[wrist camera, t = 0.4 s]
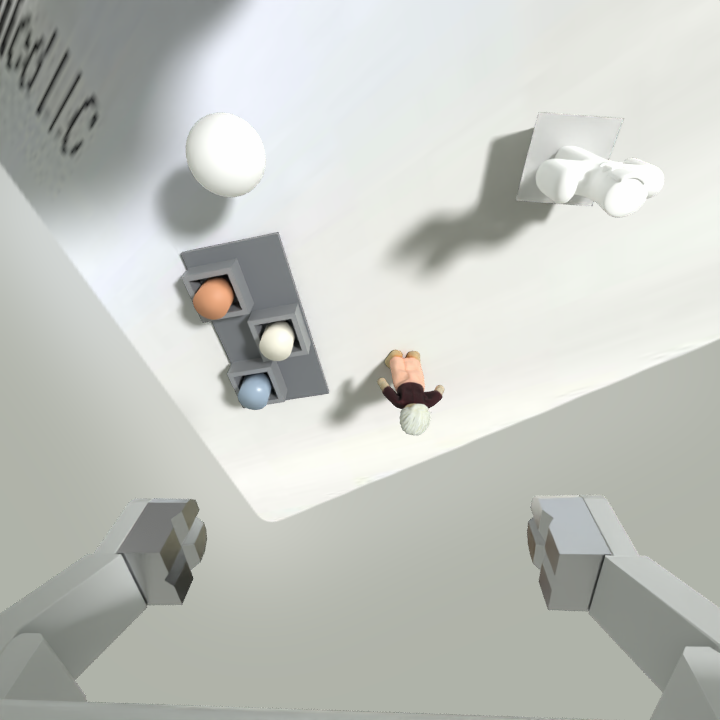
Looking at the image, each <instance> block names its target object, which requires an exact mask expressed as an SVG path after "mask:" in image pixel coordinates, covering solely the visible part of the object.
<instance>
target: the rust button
mask: <svg viewBox="0 0 720 720" xmlns="http://www.w3.org/2000/svg"><path fill="white" fill-rule="evenodd" d="M234 298H235V291H234V288H233V286H232V285H231V284H230V283H229V282H228V281H227V280H225V279H223V278H220V277H211V278H208V279H207V280H206V281H205V282H204V283H203V284H202V286H201V287H200V289H199V290H198V291H197V293H196V294H195V296H194V298H193V304H194V307H195V309H196V311H197V312H198V313H199V314H200V315H201V316H203V317H205V318H207V319H211V320H217V319H220V318H222V317H224V316H225V315H226V313H227V311H228V310H229V308H230V306H231V304H232V302H233V300H234Z"/></svg>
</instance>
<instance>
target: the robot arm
mask: <svg viewBox="0 0 720 720" xmlns="http://www.w3.org/2000/svg"><path fill="white" fill-rule="evenodd" d="M530 508H531V511H532V514H533V518H532V519H530V520H529V521H528V529H527V538H528V546H529V551H530V556H531V559H532V562H533V564H534V565H535V566H536V567H537V568H539V569H540V570H541V571H540V577H539V584H540V587H541V590H542V593H543V596H544V599H545V602H546V605H547V608H548V610H565V611H567V610H568V611H589V615H590V616H591V617H592V618H593V619H594V620H595V621H596V622H597V623H598V624H599V625H600V626H601V627H602V628H603V629H604V630H605V632H606V633H608V635H609V636H610V637H611V638H612V639H613V640H614V641H615V642H616V643H617V644H618V645H619V646H620V648H621V649H622V650H623V651H624V652H625V653H626V654H627V655H628V656H629V657H630V658H631V659H632V660H633V661H634V662H635V664H637V666H638V667H639V668H640V669H641V670H642V671H643V672H644V673H645V674H646V675H647V676H648V677H649V678H650V679H651V681H652V682H653V683H654V684H655V685H656V686H657V687H658V688H659V689H660V690H661V691H662V692H663V694H662V696H661V698H660V700H659V702H658V704H657V706H656V709H655V710H654V712H653V714H652V717H651V719H650V720H720V608H719V607H718V606H716V605H715V604H714V603H712V602H711V601H709V600H708V599H706V598H705V597H704V596H702V595H701V594H700V593H698V592H697V591H695V590H694V589H693V588H691V587H690V586H689V585H687V584H686V583H684V582H683V581H681V580H680V579H679V578H677V577H676V576H674V575H673V574H671V573H670V572H669V571H668V570H666V569H665V568H663V567H662V566H660V565H659V564H658V563H656V562H655V561H654V560H652V559H651V558H649V557H648V556H640V555H639V554H638V552H637V550H636V548H635V547H634V545H633V543H632V542H631V540H630V538H629V537H628V535H627V533H626V531H625V530H624V528H623V526H622V524H621V523H620V521H619V519H618V517H617V516H616V514H615V512H614V510H613V509H612V507H611V505H610V504H609V502H608V500H607V499H606V497H604V496H603V495H579V496H578V495H550V496H534V497H533V498H532V501H531V507H530ZM198 512H199V507H198V505H197V502H196V500H193V499H160V498H159V499H158V498H156V499H155V498H154V499H139V498H137V499H136V498H135V499H133V500H132V501H130V502H129V503H128V504H127V506H126V507H125V509H124V510H123V511H122V513H121V514H120V516H119V517H118V519H117V520H116V522H115V523H114V524H113V526H112V528H111V529H110V530H109V532H108V533H107V535H106V536H105V538H104V539H103V541H102V542H101V543H100V545H99V546H98V548H97V549H96V551H95V552H94V554H87V555H85V556H84V557H83V558H81V559H79V560H78V561H76V562H75V563H73V564H72V565H70V566H69V567H68V568H66V569H65V570H63V571H62V572H60V573H59V574H57V575H56V576H55V577H53V578H51V579H50V580H48V581H47V582H46V583H44V584H43V585H41V586H40V587H38V588H37V589H35V590H34V591H32V592H31V593H29V594H28V595H26V596H25V597H24V598H22V599H21V600H19V601H18V602H16V603H15V604H13V605H12V606H10V607H9V608H7V609H6V610H4V611H3V612H2V613H0V720H599V719H569V718H541V717H511V716H484V715H483V716H482V715H455V714H454V715H453V714H426V713H425V714H424V713H399V712H396V713H395V712H370V711H341V710H312V709H311V710H310V709H282V708H281V709H280V708H253V707H223V706H221V707H220V706H194V705H165V704H135V703H106V702H87V700H86V695H85V694H84V692H83V691H82V690H81V688H80V687H79V686H78V684H77V683H76V681H75V679H77V678H78V676H80V674H82V672H84V670H85V669H86V668H87V667H88V666H89V665H90V664H91V663H92V662H93V661H94V660H95V659H96V658H97V657H98V656H99V655H100V654H101V653H102V652H103V651H104V650H105V649H106V648H107V647H108V646H109V645H110V644H111V643H112V642H113V641H114V640H115V639H116V638H117V637H118V636H119V635H120V634H121V633H122V632H123V631H124V630H125V629H126V628H127V627H128V626H129V625H130V624H131V623H132V622H133V621H134V620H135V619H136V618H137V617H138V616H139V615H140V614H141V613H142V612H143V611H144V610H145V609H146V608H147V605H182V603H183V601H184V599H185V596H186V594H187V592H188V590H189V588H190V585H191V583H192V581H193V576H192V572H191V570H192V569H193V568H194V567H195V566H196V565H197V564H199V563H200V562H201V560H202V557H203V554H204V552H205V547H206V541H207V533H206V527H205V524H204V522H203V521H201V520H200V519H199V518H197V517H196V516H197V514H198Z"/></svg>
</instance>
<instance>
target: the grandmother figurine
mask: <svg viewBox="0 0 720 720" xmlns="http://www.w3.org/2000/svg"><path fill="white" fill-rule="evenodd" d="M402 355H403V354H402V352H401V351H398V350H393V351H391V353H390V354H389V355H388V357H387V358H386V360H385V364H386V366H387V367H388V368H391V373H392V379H393V384H394V387H395V389H396V391H397V393H396V392H395V391H394V390H393V389H392V388H391V387H390V386H389V384H388V383H386V380H385V379H384V378H379V379H378V381H377V383H378V385H379V386H380V388H381V390H382V393H383V394H384V396H385V397H386V398H387V399H388V400H389V401H390V402H391V403H392V404H393V405H394V406H396V407H397V408H400V409H402V410H401V412H400V413H401V415H400V424H401V428H402V430H403V431H405V432H406V434H410V435H420V434H422V433H423V432H424V431H425V430H426V429H427V427H428V425H429V423H430V413H431V411H429V409H428V408H430V407H432V406H434V405H435V404H436V403H437V402H439V401H440V400H441V399H442V394H443V392H444V387H443V386H442V385H438V386H437V387H436V388H435V390H434V391H430V392H424V389H425V385H424V375H423V372H422V368H421V364H420V354H419V353H418V352H416V351H411V352H409V353H408V354H407V356H406V358H402Z"/></svg>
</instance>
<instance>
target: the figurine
mask: <svg viewBox="0 0 720 720" xmlns="http://www.w3.org/2000/svg"><path fill="white" fill-rule="evenodd" d="M623 119H624V118H612V117H599V116H586V115H573V114H560V113H546V112H538V116H537V120H536V124H535V127H534V131H533V135H532V139H531V143H530V147H529V151H528V154H527V158H526V162H525V166H524V170H523V174H522V178H521V181H520V185H519V189H518V193H517V197H516V201H526V202H540V203H554V204H569V205H583V206H593V203H594V202H596V203H597V204H598V205H599V206H600V207H601V208H602V209H603V210H604V211H605V212H606V213H607V214H608V215H610V216H612V217H618V218H620V217H625V216H628V215H631V214H633V213H634V212H636V211H637V210H638V209H639V208H640V207H641V206H642V205H643V204H644V202H645V200H646V199H647V198H651V197H653V196H655V195H656V194H657V193H658V192H659V191H660V190H661V188H662V186H663V184H664V175H663V173H662V171H661V170H660V169H659V168H658V167H656V166H654V165H652V164H650V163H647V162H644V161H642V160H639V159H637V158H629V159H627V160H625V161H624V162H623V163H621V162H614V161H610V160H609V159H610V156H611V153H612V150H613V147H614V145H615V142H616V139H617V136H618V133H619V131H620V128H621V125H622V122H623Z"/></svg>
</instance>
